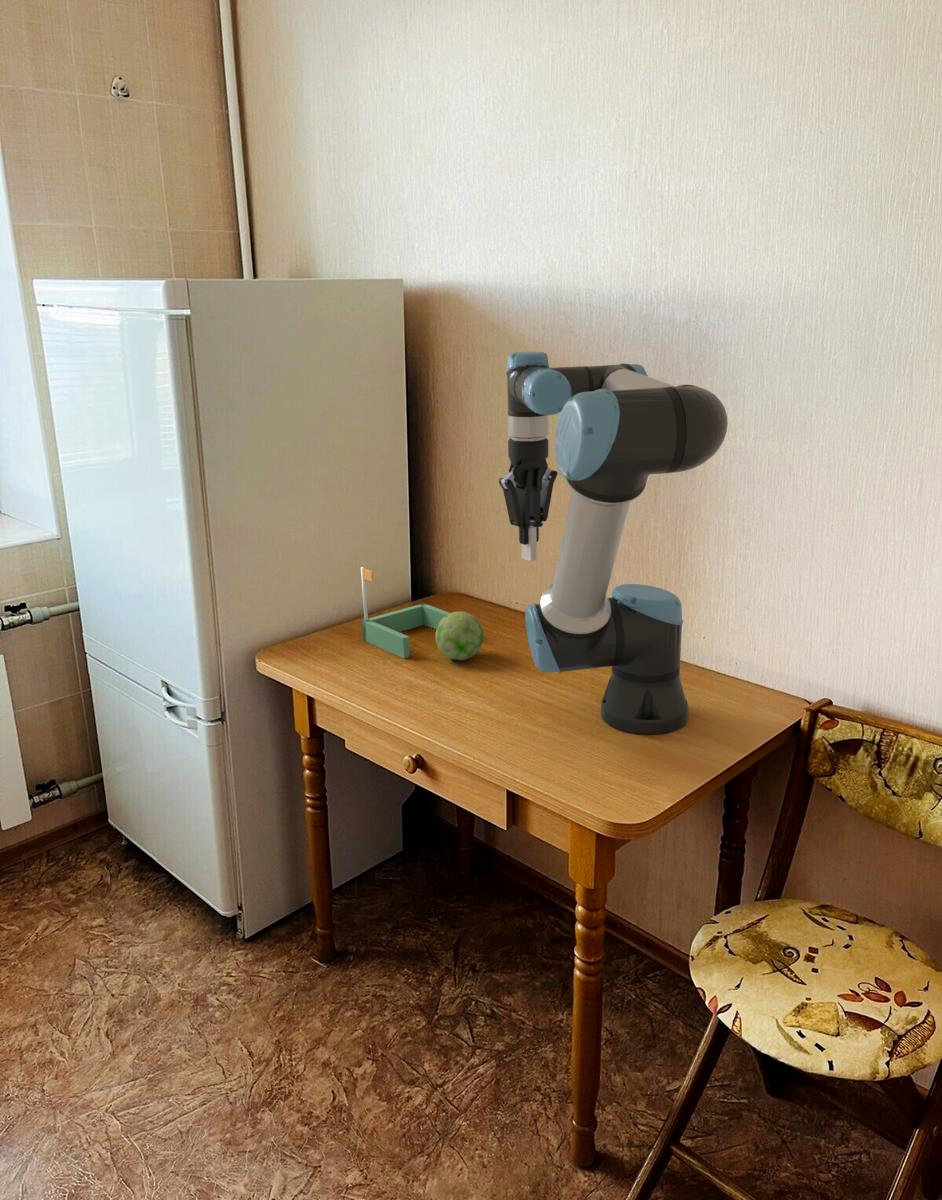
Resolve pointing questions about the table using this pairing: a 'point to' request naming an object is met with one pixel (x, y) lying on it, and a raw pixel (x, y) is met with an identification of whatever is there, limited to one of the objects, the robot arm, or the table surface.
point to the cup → (396, 623)
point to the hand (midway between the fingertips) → (529, 559)
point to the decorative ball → (459, 635)
